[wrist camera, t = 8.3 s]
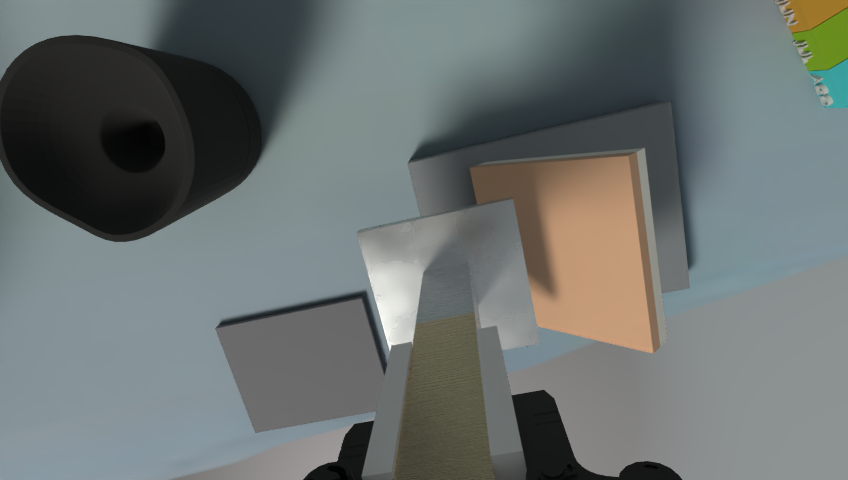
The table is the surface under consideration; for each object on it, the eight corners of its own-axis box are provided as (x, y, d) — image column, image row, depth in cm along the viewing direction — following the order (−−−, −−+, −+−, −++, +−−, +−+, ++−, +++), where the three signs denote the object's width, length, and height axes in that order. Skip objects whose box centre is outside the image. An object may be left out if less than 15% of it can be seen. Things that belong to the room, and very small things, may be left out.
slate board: (449, 324, 35) (449, 334, 34) (409, 160, 32) (407, 163, 31) (679, 279, 34) (689, 287, 32) (660, 101, 31) (671, 101, 29)
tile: (501, 317, 32) (653, 353, 25) (469, 168, 30) (628, 155, 22) (515, 307, 33) (667, 339, 25) (486, 161, 31) (644, 147, 23)
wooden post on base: (396, 364, 28) (314, 778, 11) (358, 229, 26) (186, 484, 9) (538, 338, 27) (689, 743, 10) (511, 196, 25) (644, 408, 8)
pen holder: (232, 31, 31) (134, 1, 21) (292, 175, 33) (228, 207, 23) (101, 83, 32) (-48, 78, 22) (168, 218, 34) (59, 266, 25)
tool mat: (257, 428, 39) (255, 432, 38) (218, 325, 36) (215, 328, 36) (394, 403, 37) (393, 407, 37) (362, 295, 35) (361, 298, 35)
